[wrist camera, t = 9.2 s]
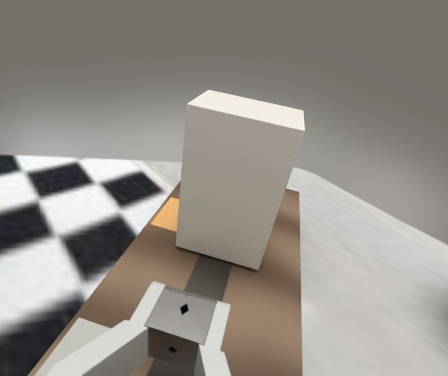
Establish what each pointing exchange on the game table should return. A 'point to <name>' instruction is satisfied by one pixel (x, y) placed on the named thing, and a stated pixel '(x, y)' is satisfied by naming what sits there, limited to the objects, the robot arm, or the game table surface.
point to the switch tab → (234, 174)
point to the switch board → (205, 286)
